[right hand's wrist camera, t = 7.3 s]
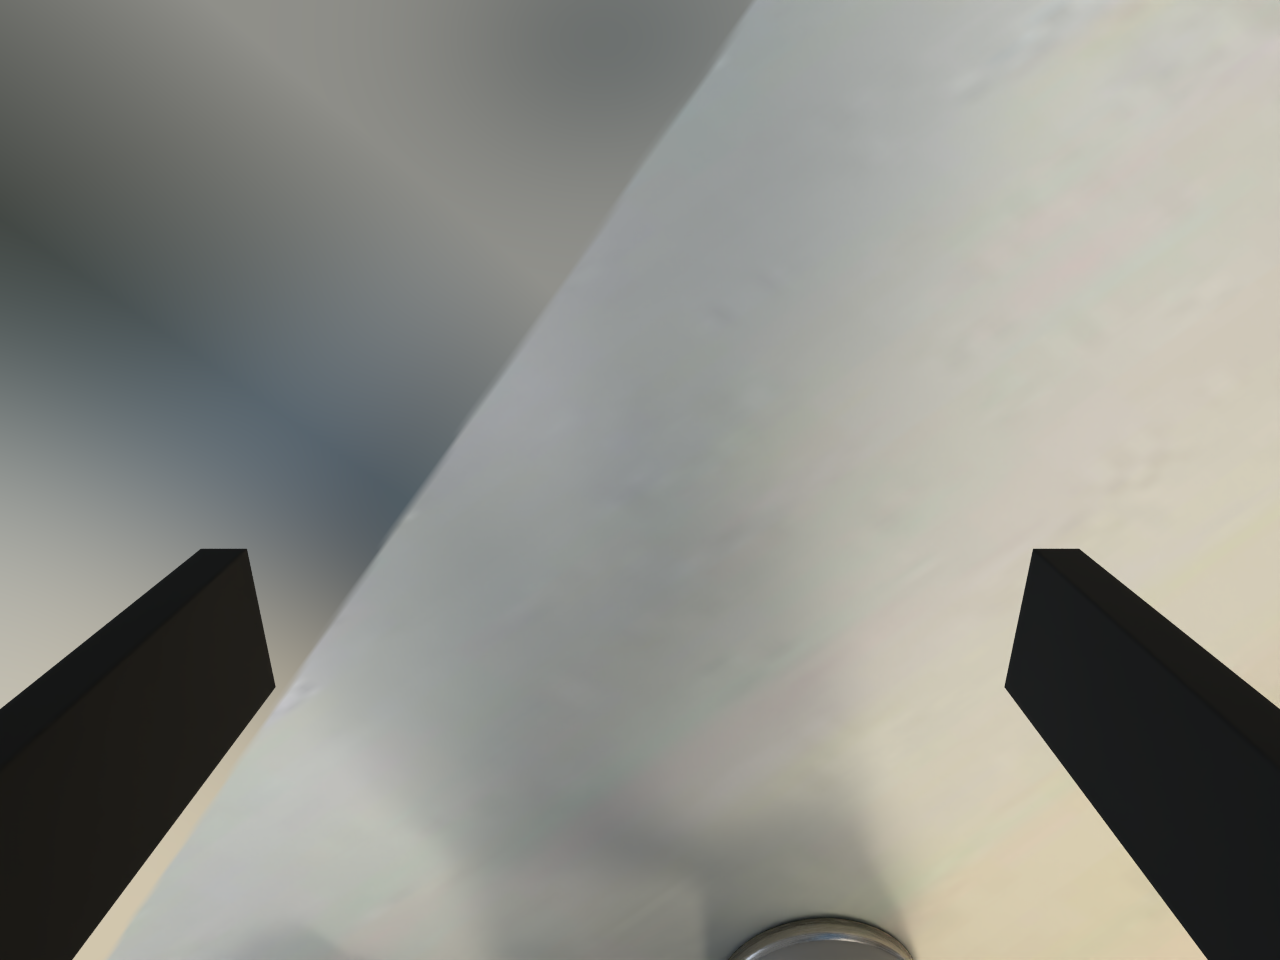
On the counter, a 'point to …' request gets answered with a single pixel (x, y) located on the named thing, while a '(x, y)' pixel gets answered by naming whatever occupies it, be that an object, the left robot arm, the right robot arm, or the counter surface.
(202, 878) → the counter surface
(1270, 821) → the right robot arm
